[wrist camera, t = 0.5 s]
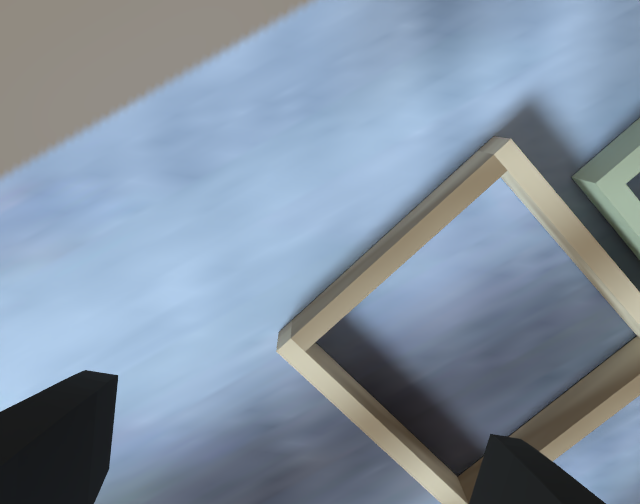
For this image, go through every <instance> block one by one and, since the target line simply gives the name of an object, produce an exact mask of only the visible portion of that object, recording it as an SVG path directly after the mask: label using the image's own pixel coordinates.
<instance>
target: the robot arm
mask: <svg viewBox="0 0 640 504" xmlns="http://www.w3.org/2000/svg"><path fill="white" fill-rule="evenodd" d="M117 383H118V375H113V374H106V373H100V372H93V371H87V370H85V371H82V372H80V373H78V374H75V375H73V376H71V377H69V378H67V379H65V380H63V381H61V382H59V383H57V384H55V385H53V386H51V387H49V388H47V389H45V390H43V391H41V392H39V393H37V394H35V395H33V396H31V397H29V398H27V399H25V400H23V401H21V402H19V403H17V404H15V405H13V406H11V407H9V408H7V409H5V410H3V411H1V412H0V504H94V502H95V500H96V498H97V495H98V493H99V491H100V489H101V486H102V484H103V482H104V479H105V477H106V475H107V472H108V470H109V464H110V454H111V443H112V433H113V423H114V413H115V403H116V393H117ZM469 504H606V503H604V502H603V501H602V500H600V499H599V498H598V497H597V496H595V495H594V494H593V493H592V492H590V491H589V490H588V489H587V488H585V487H584V486H583V485H582V484H580V483H579V482H578V481H577V480H575V479H574V478H573V477H571V476H570V475H569V474H568V473H566V472H565V471H564V470H563V469H561V468H560V467H559V466H558V465H556V464H555V463H554V462H552V461H551V460H550V459H549V458H547V457H546V456H545V455H543V454H542V453H541V452H539V451H538V450H537V449H535V448H534V447H532V446H531V445H529V444H528V443H526V442H525V441H523V440H522V439H519V438H512V437H506V436H500V435H493V434H490V437H489V440H488V444H487V447H486V450H485V453H484V457H483V460H482V463H481V466H480V470H479V473H478V476H477V479H476V482H475V486H474V489H473V492H472V495H471V499H470V502H469Z"/></svg>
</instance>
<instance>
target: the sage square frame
mask: <svg viewBox="0 0 640 504" xmlns="http://www.w3.org/2000/svg"><path fill="white" fill-rule="evenodd" d="M639 172H640V118H639V119H638V120H636V121H635V122H634V123H633V124H632V125H631V126H630V127H628V128H627V129H626V130H625V131H624V132H623V133H622V134H620V135H619V136H618V137H617V138H616V139H615V140H613V141H612V142H611V143H610V144H609V145H608V146H607V147H605V148H604V149H603V150H602V151H601V152H600V153H598V154H597V155H596V156H595V157H594V158H593V159H592V160H590V161H589V162H588V163H587V164H586V165H585V166H583V167H582V168H581V169H580V170H579V171H578V172H577V173H575V174H574V175H573V176H572V179H573V180H574V181H575V182H576V184H577V185H578V186H579V187H580V188H581V190H582V191H583V192H584V193H585V194H586V196H587V197H588V198H589V199H590V201H591V202H592V203H593V204H594V205H595V207H596V208H597V209H598V210H599V211H600V213H601V214H602V215H603V216H604V218H605V219H606V220H607V221H608V222H609V224H610V225H611V226H612V227H613V229H614V230H615V231H616V232H617V233H618V235H619V236H620V237H621V238H622V239H623V241H624V242H625V243H626V244H627V246H628V247H629V248H630V249H631V250H632V252H633V253H634V254H635V255H636V257H637V258H638V259H639V260H640V201H639V200H638V199H637V197H636V196H635V195H634V193H633V192H632V191H631V190H630V188H629V187H628V186H627V185H626V183H627V182H629V181H630V180H631V179H632V178H633V177H635V176H636V175H637V174H638V173H639Z"/></svg>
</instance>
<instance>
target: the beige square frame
mask: <svg viewBox="0 0 640 504" xmlns="http://www.w3.org/2000/svg"><path fill="white" fill-rule="evenodd" d="M500 177H501V178H502V179H503V180H504V182H505V183H506V184H507V185H508V186H509V187H510V189H511V190H512V191H513V192H514V193H515V194H516V196H517V197H518V198H519V199H520V200H521V201H522V203H523V204H524V205H525V206H526V207H527V208H528V210H529V211H530V212H531V213H532V214H533V215H534V217H535V218H536V219H537V220H538V221H539V222H540V223H541V225H542V226H543V227H544V228H545V229H546V230H547V232H548V233H549V234H550V235H551V236H552V237H553V239H554V240H555V241H556V242H557V243H558V244H559V246H560V247H561V248H562V249H563V250H564V251H565V253H566V254H567V255H568V256H569V257H570V258H571V260H572V261H573V262H574V263H575V264H576V265H577V267H578V268H579V269H580V270H581V271H582V272H583V273H584V275H585V276H586V277H587V278H588V279H589V280H590V282H591V283H592V284H593V285H594V286H595V287H596V289H597V290H598V291H599V292H600V293H601V294H602V296H603V297H604V298H605V299H606V300H607V301H608V303H609V304H610V305H611V306H612V307H613V308H614V310H615V311H616V312H617V313H618V314H619V315H620V316H621V318H622V319H623V320H624V321H625V322H626V323H627V325H628V326H629V327H630V328H631V329H632V330H633V332H634V333H635V334H636V335H637V337H635V338H634V339H633V340H631V341H630V342H629V343H628V344H626V345H625V346H624V347H623V348H621V349H620V350H619V351H617V352H616V353H615V354H614V355H612V356H611V357H610V358H608V359H607V360H606V361H605V362H603V363H602V364H601V365H600V366H598V367H597V368H596V369H594V370H593V371H592V372H591V373H589V374H588V375H587V376H586V377H584V378H583V379H582V380H580V381H579V382H578V383H577V384H575V385H574V386H573V387H571V388H570V389H569V390H568V391H566V392H565V393H564V394H563V395H561V396H560V397H559V398H557V399H556V400H555V401H554V402H552V403H551V404H550V405H549V406H547V407H546V408H545V409H543V410H542V411H541V412H540V413H538V414H537V415H536V416H534V417H533V418H532V419H531V420H529V421H528V422H527V423H526V424H524V425H523V426H522V427H520V428H519V429H518V430H517V431H515V432H514V433H513V434H512V435H510V436H509V437H512V438H519V439H522V440H523V441H525V442H526V443H528V444H529V445H531V446H532V447H534V448H535V449H537V450H538V451H539V452H541V453H542V454H543V455H545V456H546V457H547V458H549V459H550V460H551V461H554V460H555V459H556V458H558V457H559V456H560V455H562V454H563V453H564V452H566V451H567V450H568V449H570V448H571V447H572V446H573V445H575V444H576V443H577V442H579V441H580V440H581V439H583V438H584V437H585V436H587V435H588V434H589V433H591V432H592V431H593V430H595V429H596V428H597V427H598V426H600V425H601V424H602V423H604V422H605V421H606V420H608V419H609V418H610V417H612V416H613V415H614V414H616V413H617V412H618V411H619V410H621V409H622V408H623V407H625V406H626V405H627V404H629V403H630V402H631V401H633V400H634V399H635V398H637V397H638V396H639V395H640V292H639V291H638V290H637V288H636V287H635V286H634V285H633V284H632V282H631V281H630V280H629V279H628V278H627V277H626V275H625V274H624V273H623V272H622V271H621V269H620V268H619V267H618V266H617V265H616V263H615V262H614V261H613V260H612V259H611V257H610V256H609V255H608V254H607V253H606V251H605V250H604V249H603V248H602V247H601V245H600V244H599V243H598V242H597V241H596V239H595V238H594V237H593V236H592V235H591V233H590V232H589V231H588V230H587V229H586V228H585V226H584V225H583V224H582V223H581V222H580V220H579V219H578V218H577V217H576V216H575V214H574V213H573V212H572V211H571V210H570V208H569V207H568V206H567V205H566V204H565V202H564V201H563V200H562V199H561V198H560V196H559V195H558V194H557V193H556V192H555V190H554V189H553V188H552V187H551V186H550V185H549V183H548V182H547V181H546V180H545V179H544V177H543V176H542V175H541V174H540V173H539V171H538V170H537V169H536V168H535V167H534V165H533V164H532V163H531V162H530V161H529V159H528V158H527V157H526V156H525V155H524V153H523V152H522V151H521V150H520V149H519V147H518V146H517V145H516V144H515V143H514V141H513V140H512V139H509V138H502V137H495V136H493V137H492V138H491V139H490V140H489V141H488V142H487V143H486V144H485V145H484V146H482V147H481V148H480V149H479V150H478V151H477V152H476V153H475V154H474V155H473V156H472V157H470V158H469V159H468V160H467V161H466V162H465V163H464V164H463V165H462V166H461V167H459V168H458V169H457V170H456V171H455V172H454V173H453V174H452V175H451V176H450V177H448V178H447V179H446V180H445V181H444V182H443V183H442V184H441V185H440V186H439V187H438V188H436V189H435V190H434V191H433V192H432V193H431V194H430V195H429V196H428V197H427V198H425V199H424V200H423V201H422V202H421V203H420V204H419V205H418V206H417V207H416V208H415V209H413V210H412V211H411V212H410V213H409V214H408V215H407V216H406V217H405V218H404V219H402V220H401V221H400V222H399V223H398V224H397V225H396V226H395V227H394V228H393V229H392V230H390V231H389V232H388V233H387V234H386V235H385V236H384V237H383V238H382V239H381V240H379V241H378V242H377V243H376V244H375V245H374V246H373V247H372V248H371V249H370V250H368V251H367V252H366V253H365V254H364V255H363V256H362V257H361V258H360V259H359V260H358V261H356V262H355V263H354V264H353V265H352V266H351V267H350V268H349V269H348V270H347V271H345V272H344V273H343V274H342V275H341V276H340V277H339V278H338V279H337V280H336V281H335V282H333V283H332V284H331V285H330V286H329V287H328V288H327V289H326V290H325V291H324V292H322V293H321V294H320V295H319V296H318V297H317V298H316V299H315V300H314V301H313V302H312V303H310V304H309V305H308V306H307V307H306V308H305V309H304V310H303V311H302V312H301V313H299V314H298V315H297V316H296V317H295V318H294V319H293V320H292V321H291V322H290V323H288V324H287V325H286V326H285V327H284V328H283V329H282V330H281V331H280V332H279V334H278V342H277V350H276V352H277V353H279V354H280V355H281V356H282V357H283V358H284V359H285V360H286V361H287V362H288V363H289V364H290V365H292V366H293V367H294V368H295V369H296V370H297V371H298V372H299V373H300V374H301V375H302V376H303V377H305V378H306V379H307V380H308V381H309V382H310V383H311V384H312V385H313V386H314V387H315V388H317V389H318V390H319V391H320V392H321V393H322V394H323V395H324V396H325V397H326V398H327V399H328V400H330V401H331V402H332V403H333V404H334V405H335V406H336V407H337V408H338V409H339V410H340V411H342V412H343V413H344V414H345V415H346V416H347V417H348V418H349V419H350V420H351V421H352V422H353V423H355V424H356V425H357V426H358V427H359V428H360V429H361V430H362V431H363V432H364V433H365V434H367V435H368V436H369V437H370V438H371V439H372V440H373V441H374V442H375V443H376V444H377V445H378V446H380V447H381V448H382V449H383V450H384V451H385V452H386V453H387V454H388V455H389V456H390V457H391V458H393V459H394V460H395V461H396V462H397V463H398V464H399V465H400V466H401V467H402V468H403V469H405V470H406V471H407V472H408V473H409V474H410V475H411V476H412V477H413V478H414V479H415V480H416V481H418V482H419V483H420V484H421V485H422V486H423V487H424V488H425V489H426V490H427V491H428V492H430V493H431V494H432V495H433V496H434V497H435V498H436V499H437V500H438V501H439V502H440V503H441V504H469V502H470V499H471V495H472V492H473V489H474V486H475V482H476V479H477V476H478V473H479V470H480V466H481V463H482V460H483V457H484V456H483V457H482V458H481V459H480V460H478V461H477V462H476V463H475V464H473V465H472V466H471V467H469V468H468V469H467V470H466V471H464V472H463V473H462V474H461V475H459V476H458V477H457V476H456V475H455V474H454V473H453V472H452V471H451V470H450V469H449V468H448V467H447V466H445V465H444V464H443V463H442V462H441V461H440V460H439V459H438V458H437V457H436V456H435V455H434V454H433V453H432V452H431V451H430V450H429V449H428V448H426V447H425V446H424V445H423V444H422V443H421V442H420V441H419V440H418V439H417V438H416V437H415V436H414V435H413V434H412V433H411V432H410V431H408V430H407V429H406V428H405V427H404V426H403V425H402V424H401V423H400V422H399V421H398V420H397V419H396V418H395V417H394V416H393V415H392V414H391V413H389V412H388V411H387V410H386V409H385V408H384V407H383V406H382V405H381V404H380V403H379V402H378V401H377V400H376V399H375V398H374V397H373V396H372V395H370V394H369V393H368V392H367V391H366V390H365V389H364V388H363V387H362V386H361V385H360V384H359V383H358V382H357V381H356V380H355V379H354V378H352V377H351V376H350V375H349V374H348V373H347V372H346V371H345V370H344V369H343V368H342V367H341V366H340V365H339V364H338V363H337V362H336V361H335V360H333V359H332V358H331V357H330V356H329V355H328V354H327V353H326V352H325V351H324V350H323V349H322V348H321V347H320V346H319V345H318V344H317V343H315V342H316V341H317V340H318V339H320V338H321V337H322V336H323V335H324V334H325V333H326V332H327V331H329V330H330V329H331V328H332V327H333V326H334V325H335V324H336V323H338V322H339V321H340V320H341V319H342V318H343V317H344V316H345V315H346V314H348V313H349V312H350V311H351V310H352V309H353V308H354V307H355V306H357V305H358V304H359V303H360V302H361V301H362V300H363V299H364V298H366V297H367V296H368V295H369V294H370V293H371V292H372V291H373V290H374V289H376V288H377V287H378V286H379V285H380V284H381V283H382V282H383V281H385V280H386V279H387V278H388V277H389V276H390V275H391V274H392V273H393V272H395V271H396V270H397V269H398V268H399V267H400V266H401V265H402V264H404V263H405V262H406V261H407V260H408V259H409V258H410V257H411V256H413V255H414V254H415V253H416V252H417V251H418V250H419V249H420V248H421V247H423V246H424V245H425V244H426V243H427V242H428V241H429V240H430V239H432V238H433V237H434V236H435V235H436V234H437V233H438V232H439V231H441V230H442V229H443V228H444V227H445V226H446V225H447V224H448V223H449V222H451V221H452V220H453V219H454V218H455V217H456V216H457V215H458V214H460V213H461V212H462V211H463V210H464V209H465V208H466V207H467V206H468V205H470V204H471V203H472V202H473V201H474V200H475V199H476V198H477V197H479V196H480V195H481V194H482V193H483V192H484V191H485V190H486V189H488V188H489V187H490V186H491V185H492V184H493V183H494V182H495V181H496V180H498V179H499V178H500Z"/></svg>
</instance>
